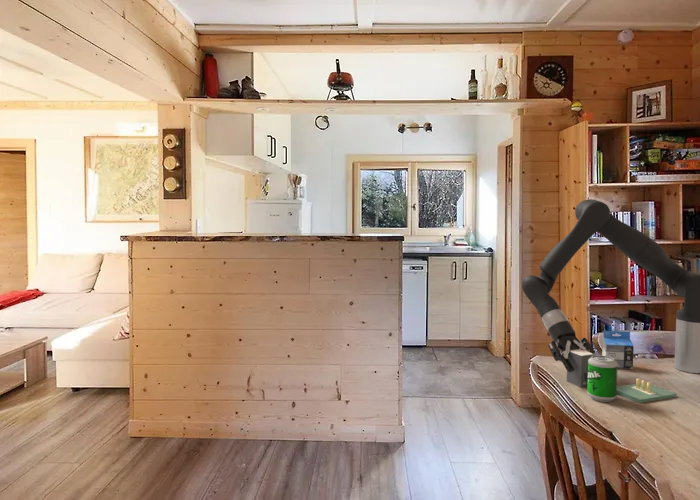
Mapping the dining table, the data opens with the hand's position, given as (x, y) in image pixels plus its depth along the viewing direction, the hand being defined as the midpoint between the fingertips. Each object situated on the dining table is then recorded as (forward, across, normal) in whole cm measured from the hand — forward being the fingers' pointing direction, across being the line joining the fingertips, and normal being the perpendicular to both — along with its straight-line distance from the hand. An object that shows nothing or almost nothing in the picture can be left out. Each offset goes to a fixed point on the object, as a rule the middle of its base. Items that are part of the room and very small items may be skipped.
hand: (583, 369), depth 149 cm
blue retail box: (-4, +24, +11) cm, 27 cm away
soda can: (+11, -3, -4) cm, 12 cm away
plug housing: (+3, 0, +4) cm, 5 cm away
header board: (+12, +11, -5) cm, 17 cm away
